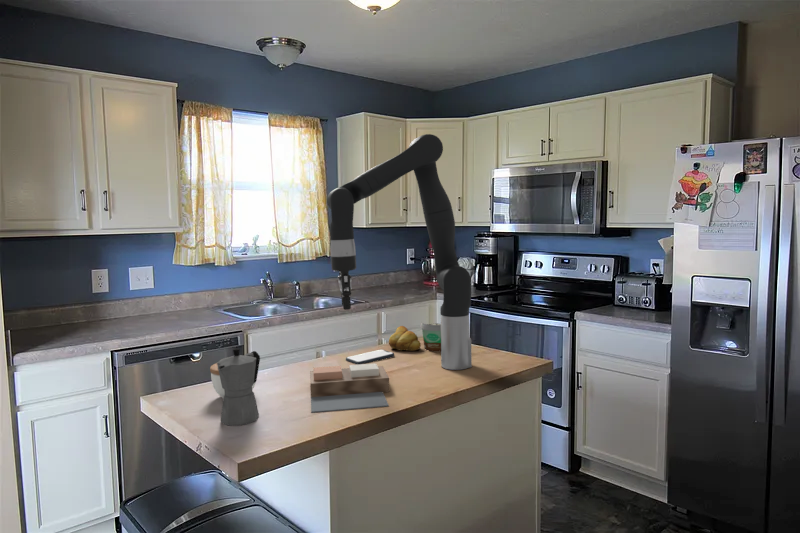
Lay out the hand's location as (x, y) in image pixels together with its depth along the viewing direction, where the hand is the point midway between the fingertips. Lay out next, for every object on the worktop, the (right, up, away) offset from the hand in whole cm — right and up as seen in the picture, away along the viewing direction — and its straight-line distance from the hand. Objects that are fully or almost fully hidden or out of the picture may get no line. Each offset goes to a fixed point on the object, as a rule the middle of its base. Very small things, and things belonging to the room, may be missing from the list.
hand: (346, 307), depth 168 cm
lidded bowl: (-30, -24, -13) cm, 41 cm away
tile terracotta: (-4, -18, -10) cm, 21 cm away
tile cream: (+6, -18, -8) cm, 21 cm away
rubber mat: (+3, -24, -21) cm, 32 cm away
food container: (+30, -19, +34) cm, 49 cm away
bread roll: (+18, -19, +37) cm, 45 cm away
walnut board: (+2, -23, -8) cm, 24 cm away
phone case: (+6, -21, +25) cm, 33 cm away
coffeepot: (-23, -26, -30) cm, 46 cm away
